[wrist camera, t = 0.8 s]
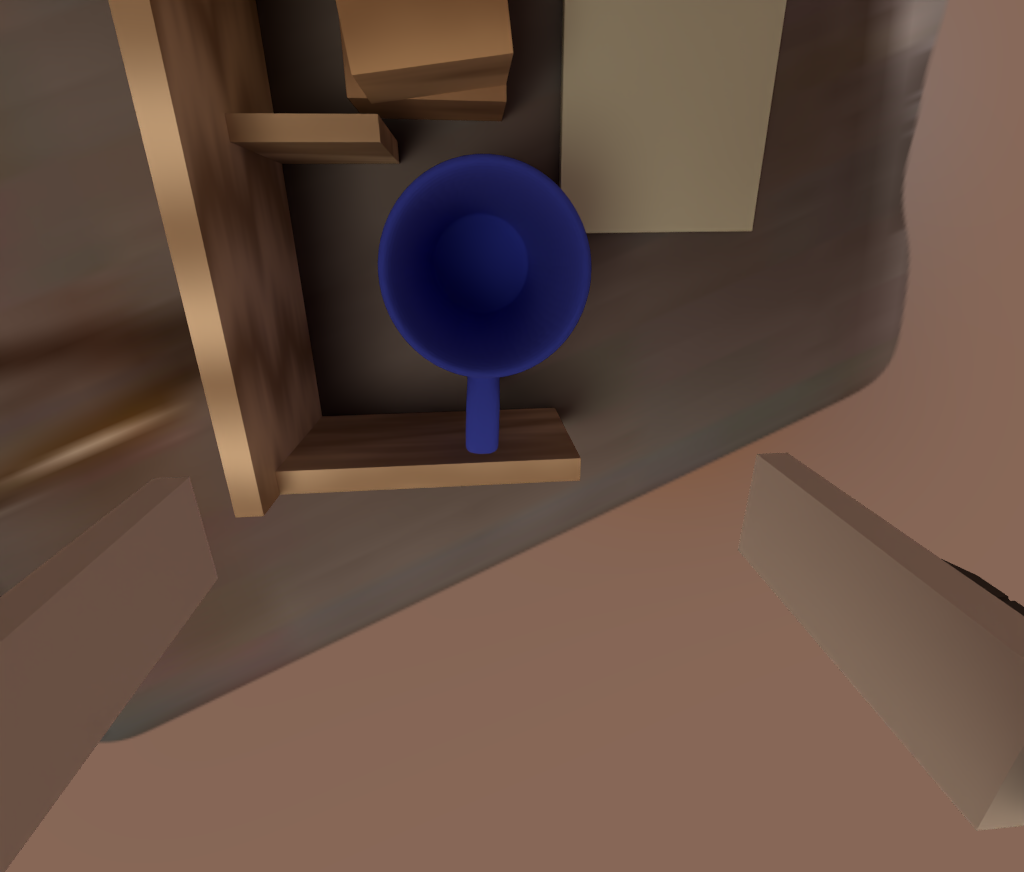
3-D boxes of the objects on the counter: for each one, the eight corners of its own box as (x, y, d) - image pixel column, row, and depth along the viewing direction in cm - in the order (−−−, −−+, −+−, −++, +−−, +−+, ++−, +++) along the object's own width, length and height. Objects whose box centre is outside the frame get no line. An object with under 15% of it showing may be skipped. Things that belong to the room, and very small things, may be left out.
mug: (412, 397, 31) (387, 464, 21) (404, 179, 26) (370, 145, 17) (543, 399, 32) (574, 465, 22) (557, 187, 27) (603, 159, 18)
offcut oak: (341, -41, 20) (313, -106, 16) (488, -60, 20) (493, -128, 17) (371, 103, 22) (351, 75, 18) (505, 85, 22) (513, 53, 18)
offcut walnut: (351, -30, 23) (329, -82, 20) (500, -24, 24) (506, -73, 20) (364, 119, 25) (346, 97, 22) (501, 121, 26) (506, 101, 22)
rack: (207, -122, 22) (10, -398, 12) (564, -109, 23) (631, -353, 13) (305, 435, 31) (235, 517, 22) (554, 425, 32) (588, 499, 23)
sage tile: (562, -13, 24) (565, -19, 23) (781, -8, 25) (788, -14, 24) (558, 233, 28) (559, 233, 27) (746, 231, 29) (751, 230, 28)
